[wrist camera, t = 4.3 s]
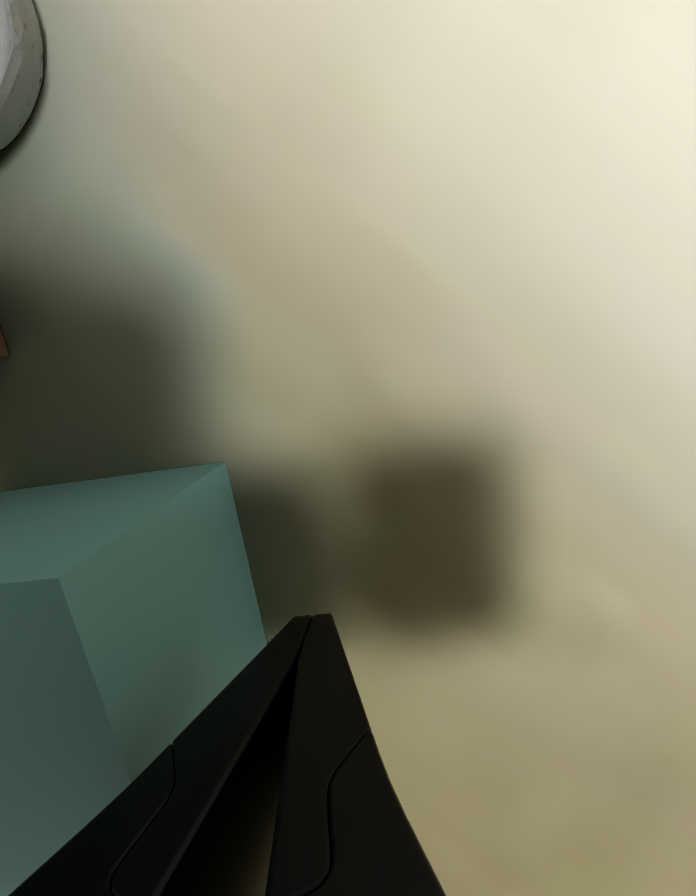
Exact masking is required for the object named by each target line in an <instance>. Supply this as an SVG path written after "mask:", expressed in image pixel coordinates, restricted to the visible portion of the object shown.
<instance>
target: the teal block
mask: <svg viewBox="0 0 696 896" xmlns="http://www.w3.org/2000/svg"><path fill="white" fill-rule="evenodd" d="M266 645H267V642H266V638H265V633H264V629H263V625H262V620H261V616H260V611H259V607H258V603H257V598H256V594H255V590H254V585H253V581H252V576H251V572H250V568H249V563H248V559H247V555H246V550H245V546H244V541H243V537H242V533H241V528H240V524H239V520H238V515H237V511H236V506H235V502H234V498H233V493H232V489H231V485H230V480H229V476H228V471H227V467H226V463H225V462H219V463H212V464H204V465H197V466H189V467H182V468H174V469H167V470H159V471H152V472H144V473H137V474H129V475H122V476H114V477H107V478H99V479H92V480H84V481H77V482H69V483H62V484H54V485H47V486H39V487H32V488H24V489H17V490H9V491H4V492H1V493H0V896H8V895H9V894H10V893H11V892H13V891H14V890H15V889H16V888H17V887H18V886H19V885H20V884H21V883H23V882H24V881H25V880H26V879H27V878H28V877H29V876H30V875H31V874H33V873H34V872H35V871H36V870H37V869H38V868H39V867H40V866H41V865H43V864H44V863H45V862H46V861H47V860H48V859H49V858H50V857H51V856H52V855H54V854H55V853H56V852H57V851H58V850H59V849H60V848H61V847H62V846H64V845H65V844H66V843H67V842H68V841H69V840H70V839H71V838H72V837H74V836H75V835H76V834H77V833H78V832H79V831H80V830H81V829H82V828H83V827H85V826H86V825H87V824H88V823H89V822H90V821H91V820H92V819H93V818H94V817H95V816H96V815H97V814H99V813H100V812H101V811H102V810H103V809H104V808H105V807H106V806H107V805H108V804H109V803H110V802H112V801H113V800H114V799H115V798H116V797H117V796H118V795H119V794H120V793H121V792H122V791H123V790H124V789H125V788H126V787H127V786H128V785H129V784H130V783H131V782H132V781H133V780H134V779H135V778H136V777H137V776H138V775H139V774H140V773H141V772H142V771H143V770H144V769H145V768H146V767H147V766H148V765H149V764H150V763H151V762H152V761H153V760H154V759H155V758H156V757H157V756H158V755H159V754H160V753H161V752H162V751H163V750H164V749H165V748H166V747H167V746H168V745H169V744H172V745H173V740H174V739H175V738H176V737H177V736H178V735H179V734H180V733H181V732H182V731H183V730H184V729H185V728H186V727H187V726H188V725H189V724H190V723H191V722H192V721H193V720H194V719H195V718H196V717H197V716H198V715H199V714H200V713H201V712H202V710H203V709H204V708H205V707H206V706H207V705H208V704H209V703H210V702H211V701H212V700H213V699H214V698H215V697H216V696H217V695H218V694H219V693H220V692H221V691H222V690H223V689H224V688H225V687H226V686H227V685H228V684H229V683H230V682H231V681H232V680H233V679H234V678H235V677H236V676H237V675H238V674H239V673H240V672H241V671H242V670H243V669H244V667H245V666H246V665H247V664H248V663H249V662H250V661H251V660H252V659H253V658H254V657H255V656H256V655H257V654H258V653H259V652H260V651H261V650H262V649H263V648H264V647H265V646H266Z"/></svg>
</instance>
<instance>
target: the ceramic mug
mask: <svg viewBox="0 0 696 896" xmlns="http://www.w3.org/2000/svg"><path fill="white" fill-rule="evenodd" d="M42 79H43V43H42V37H41V32H40V27H39V22H38V18H37V15H36V12H35V9H34V6H33V3H32V0H0V150H1V149H3V148H4V147H6V146H7V145H8V144H9V143H10V142H11V141H12V140H13V139H14V138H15V137H16V136H17V135H18V134H19V133H20V131H21V129H22V128H23V126H24V124H25V123H26V121H27V119H28V118H29V116H30V115H31V112H32V110H33V107H34V105H35V102H36V99H37V97H38V94H39V91H40V87H41V83H42Z"/></svg>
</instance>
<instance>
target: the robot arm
mask: <svg viewBox="0 0 696 896" xmlns="http://www.w3.org/2000/svg"><path fill="white" fill-rule="evenodd" d="M8 896H446V895H445V893H444V891H443V889H442V887H441V885H440V883H439V881H438V879H437V877H436V875H435V873H434V871H433V869H432V867H431V865H430V863H429V861H428V859H427V857H426V855H425V853H424V851H423V849H422V847H421V845H420V843H419V841H418V839H417V837H416V835H415V833H414V831H413V829H412V827H411V825H410V823H409V821H408V819H407V817H406V815H405V813H404V810H403V808H402V806H401V804H400V802H399V800H398V797H397V795H396V793H395V791H394V789H393V787H392V784H391V782H390V780H389V777H388V774H387V772H386V769H385V767H384V764H383V761H382V759H381V756H380V754H379V751H378V748H377V745H376V742H375V739H374V736H373V734H372V732H371V728H370V725H369V722H368V719H367V716H366V713H365V710H364V707H363V704H362V701H361V698H360V696H359V693H358V690H357V687H356V684H355V681H354V678H353V675H352V672H351V669H350V666H349V663H348V660H347V657H346V654H345V652H344V649H343V646H342V643H341V640H340V637H339V634H338V631H337V628H336V625H335V622H334V619H333V616H332V615H331V614H330V613H327V614H316V615H314V616H313V617H312V616H311V615H305V616H296V617H294V618H292V619H291V620H290V621H289V622H288V623H287V624H286V626H285V627H284V628H283V629H282V630H281V631H280V632H279V633H278V634H277V635H276V636H275V637H274V638H273V639H272V640H271V641H270V642H269V643H268V644H267V645H266V646H265V647H264V648H263V649H262V650H261V651H260V652H259V653H258V654H257V655H256V656H255V657H254V658H253V659H252V660H251V661H250V662H249V663H248V664H247V665H246V666H245V667H244V669H243V670H242V671H241V672H240V673H239V674H238V675H237V676H236V677H235V678H234V679H233V680H232V681H231V682H230V683H229V684H228V685H227V686H226V687H225V688H224V689H223V690H222V691H221V692H220V693H219V694H218V695H217V696H216V697H215V698H214V699H213V700H212V701H211V702H210V703H209V704H208V705H207V706H206V707H205V708H204V709H203V710H202V712H201V713H200V714H199V715H198V716H197V717H196V718H195V719H194V720H193V721H192V722H191V723H190V724H189V725H188V726H187V727H186V728H185V729H184V730H183V731H182V732H181V733H180V734H179V735H178V736H177V737H176V738H175V739H174V740H173V745H172V744H169V745H168V746H167V747H166V748H165V749H164V750H163V751H162V752H161V753H160V754H159V755H158V756H157V757H156V758H155V759H154V760H153V761H152V762H151V763H150V764H149V765H148V766H147V767H146V768H145V769H144V770H143V771H142V772H141V773H140V774H139V775H138V776H137V777H136V778H135V779H134V780H133V781H132V782H131V783H130V784H129V785H128V786H127V787H126V788H125V789H124V790H123V791H122V792H121V793H120V794H119V795H118V796H117V797H116V798H115V799H114V800H113V801H112V802H110V803H109V804H108V805H107V806H106V807H105V808H104V809H103V810H102V811H101V812H100V813H99V814H97V815H96V816H95V817H94V818H93V819H92V820H91V821H90V822H89V823H88V824H87V825H86V826H85V827H83V828H82V829H81V830H80V831H79V832H78V833H77V834H76V835H75V836H74V837H72V838H71V839H70V840H69V841H68V842H67V843H66V844H65V845H64V846H62V847H61V848H60V849H59V850H58V851H57V852H56V853H55V854H54V855H52V856H51V857H50V858H49V859H48V860H47V861H46V862H45V863H44V864H43V865H41V866H40V867H39V868H38V869H37V870H36V871H35V872H34V873H33V874H31V875H30V876H29V877H28V878H27V879H26V880H25V881H24V882H23V883H21V884H20V885H19V886H18V887H17V888H16V889H15V890H14V891H13V892H11V893H10V894H9V895H8Z"/></svg>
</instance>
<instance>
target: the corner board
mask: <svg viewBox="0 0 696 896" xmlns="http://www.w3.org/2000/svg"><path fill="white" fill-rule="evenodd" d="M6 356H9V353H8V350H7V347H6V344H5V341H4V339H3V336H2V333H1V330H0V357H6Z"/></svg>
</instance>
